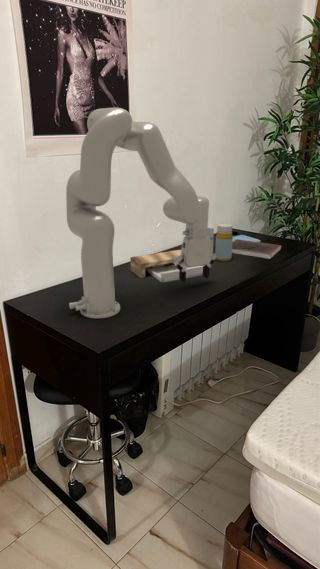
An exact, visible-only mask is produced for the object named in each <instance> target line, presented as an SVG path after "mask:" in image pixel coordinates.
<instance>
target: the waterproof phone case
mask: <svg viewBox="0 0 320 569" xmlns="http://www.w3.org/2000/svg"><path fill="white" fill-rule="evenodd" d="M236 239H239V240H246V241H253V242H260V243H261V240H260V239H258V238H254V237H251V236H248V235H244V234H239V235H234V236H233V241H235V240H236ZM233 241H232V242H233Z"/></svg>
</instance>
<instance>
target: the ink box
mask: <svg viewBox="0 0 320 569" xmlns="http://www.w3.org/2000/svg"><path fill="white" fill-rule="evenodd" d="M214 228H215V227H214V226H213V225H212V223H208V230H207V236H209V239H210V247H211V252H212V253H214V232H215V231H214V230H215V229H214Z"/></svg>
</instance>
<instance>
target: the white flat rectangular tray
mask: <svg viewBox="0 0 320 569" xmlns="http://www.w3.org/2000/svg"><path fill="white" fill-rule="evenodd" d="M179 265H180V264H179ZM204 266H205V265H204ZM145 272H146V273H147V274H150V275H151V276H152V277H153V278H155V279H156V280H158V281H159V282H161V283H162V284H163V283H168V282H173V281H179V280H180V279H179V270H178V268H177V267H176V266H175V265H165V266H163V267H157V268H149V267H146V269H145ZM185 272H186V279H189V278H195V277H200V276H203V266H201V265H200V266H193V267H187V268H186V270H185Z"/></svg>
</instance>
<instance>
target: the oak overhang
mask: <svg viewBox="0 0 320 569" xmlns="http://www.w3.org/2000/svg"><path fill="white" fill-rule="evenodd" d="M181 250H182V248H181V249H177V250H169V251H161V252H157V253H151V254H150V253H149V254H143V255H138V256H131V257H130V271H131V272H132V273H133V274H135V275H136V276H137V277H138V278H140V279H142V278H146V267H149V268H150V269H151V268H157V267H163V266H169V265H175V264H174V262H173V260H174V259H175V258H176V257H178V256H179V255H181ZM179 264H181V260H180V261H179ZM200 266H204V265H200Z"/></svg>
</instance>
